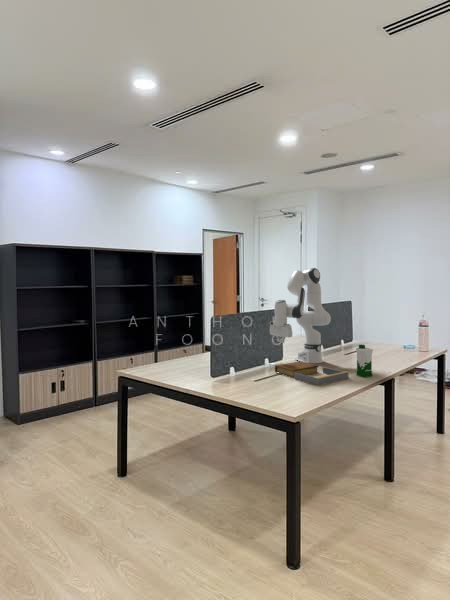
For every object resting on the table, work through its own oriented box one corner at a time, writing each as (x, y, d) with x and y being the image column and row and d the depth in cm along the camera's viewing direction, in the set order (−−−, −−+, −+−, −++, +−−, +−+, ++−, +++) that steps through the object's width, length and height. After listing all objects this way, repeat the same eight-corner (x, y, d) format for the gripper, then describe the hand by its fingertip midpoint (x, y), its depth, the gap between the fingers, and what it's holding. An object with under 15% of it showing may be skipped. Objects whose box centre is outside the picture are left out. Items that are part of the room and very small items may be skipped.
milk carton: (364, 373, 281) (364, 344, 280) (374, 376, 273) (374, 345, 272) (354, 375, 277) (354, 345, 276) (364, 378, 269) (364, 347, 268)
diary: (299, 369, 300) (299, 361, 300) (318, 373, 285) (318, 365, 284) (274, 373, 288) (274, 364, 288) (293, 378, 272) (293, 369, 272)
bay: (294, 379, 268) (294, 372, 268) (324, 372, 285) (324, 366, 284) (318, 385, 252) (318, 378, 252) (348, 378, 268) (348, 371, 268)
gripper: (294, 323, 290) (294, 343, 291) (274, 321, 307) (274, 340, 308) (287, 324, 287) (287, 344, 288) (268, 322, 304) (268, 341, 304)
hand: (280, 342), depth 298 cm, fingers open, 2 cm apart
